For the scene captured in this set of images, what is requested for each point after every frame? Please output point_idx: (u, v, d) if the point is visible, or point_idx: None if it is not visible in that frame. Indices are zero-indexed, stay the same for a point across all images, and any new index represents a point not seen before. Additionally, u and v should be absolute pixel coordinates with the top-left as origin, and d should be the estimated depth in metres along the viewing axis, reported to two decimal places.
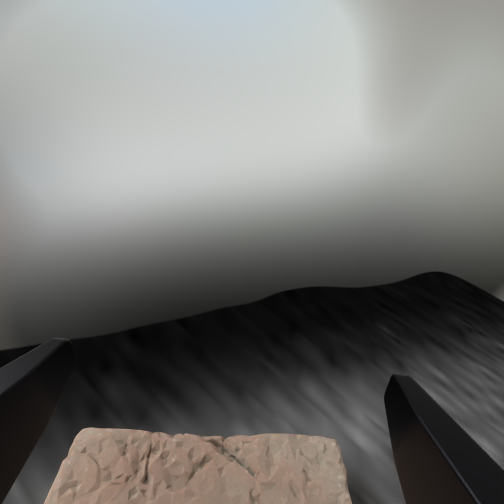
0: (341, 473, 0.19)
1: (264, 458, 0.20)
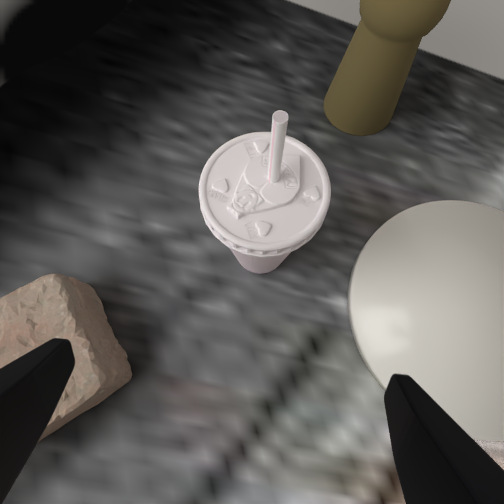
0: (62, 301, 0.20)
1: None
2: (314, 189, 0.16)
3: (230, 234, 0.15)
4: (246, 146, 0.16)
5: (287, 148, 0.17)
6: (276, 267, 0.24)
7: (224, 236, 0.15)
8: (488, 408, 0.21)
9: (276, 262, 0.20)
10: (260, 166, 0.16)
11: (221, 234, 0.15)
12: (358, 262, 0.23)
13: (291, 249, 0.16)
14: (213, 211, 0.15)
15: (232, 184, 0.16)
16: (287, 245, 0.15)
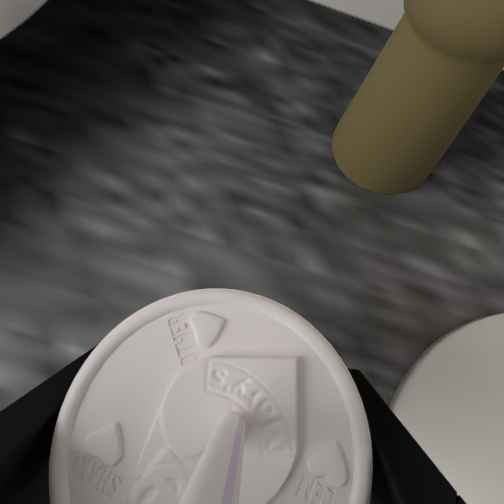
0: None
1: None
2: (332, 454, 0.06)
3: None
4: (172, 328, 0.07)
5: (267, 331, 0.07)
6: None
7: None
8: None
9: None
10: (200, 393, 0.07)
11: None
12: None
13: None
14: None
15: (133, 439, 0.07)
16: None
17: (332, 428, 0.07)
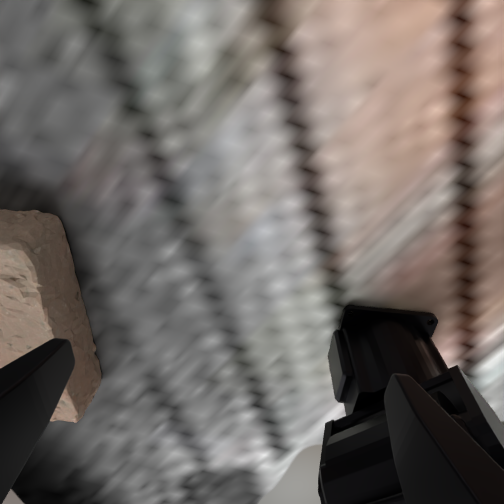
0: None
1: None
2: None
3: None
4: None
5: None
6: None
7: None
8: None
9: None
10: None
11: None
12: None
13: None
14: None
15: None
16: None
17: None
